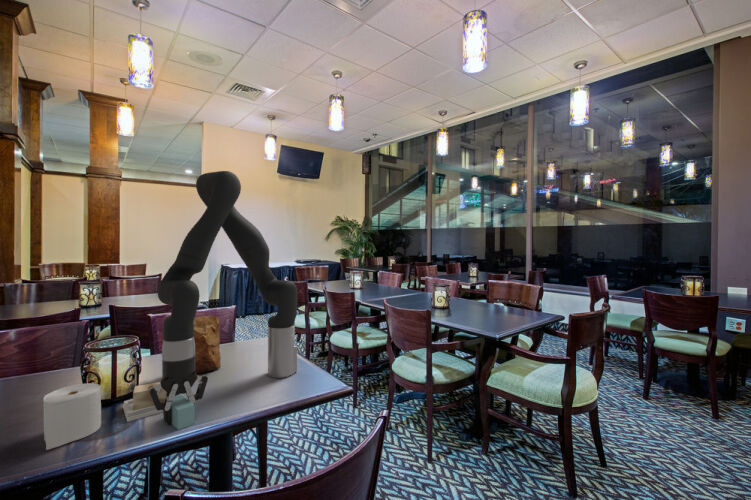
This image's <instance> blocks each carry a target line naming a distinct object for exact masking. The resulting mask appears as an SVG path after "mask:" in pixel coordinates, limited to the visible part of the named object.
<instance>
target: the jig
mask: <svg viewBox="0 0 751 500" xmlns="http://www.w3.org/2000/svg"><path fill="white" fill-rule="evenodd" d="M122 407H123V412H124V416H125V418H126V422H128V423H129V422H132V421H136V420H139V419H143V418H146V417H150V416H154V415H157V414H161V413H163V410H157V409H156V407H155V405H154V406H150V407H146V408H142V409H138V410H135V411H133V398H131V399H127V400H124V401H123V404H122Z"/></svg>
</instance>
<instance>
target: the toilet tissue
mask: <svg viewBox="0 0 751 500" xmlns="http://www.w3.org/2000/svg"><path fill="white" fill-rule="evenodd" d="M101 388H102V386H101V385H100V384H98V383H91V382H90V383H89V382H88V383H79V384H73V385H68V386H66V387H61V388H59V389H56V390H53V391H52V392H49V393H47V394H45V395H44V397H43V399H42V401H43V403H42V404H43V410H42V411H43V431H44V432H43V440H44V443H45V446H46V447H45V450H46V451H47V450H51V449H53V448H58V447H61V446H63V445H66V444H69V443H71V442H76V441H78V440H81V439H83V438H86V437H89V436H90V435H92V434H94V433H95V432H97V431H98V430H100V428H101V427H102V403H101V402H102V401H101V400H102V399H101V398H102V397H101V394H102V389H101Z"/></svg>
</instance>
